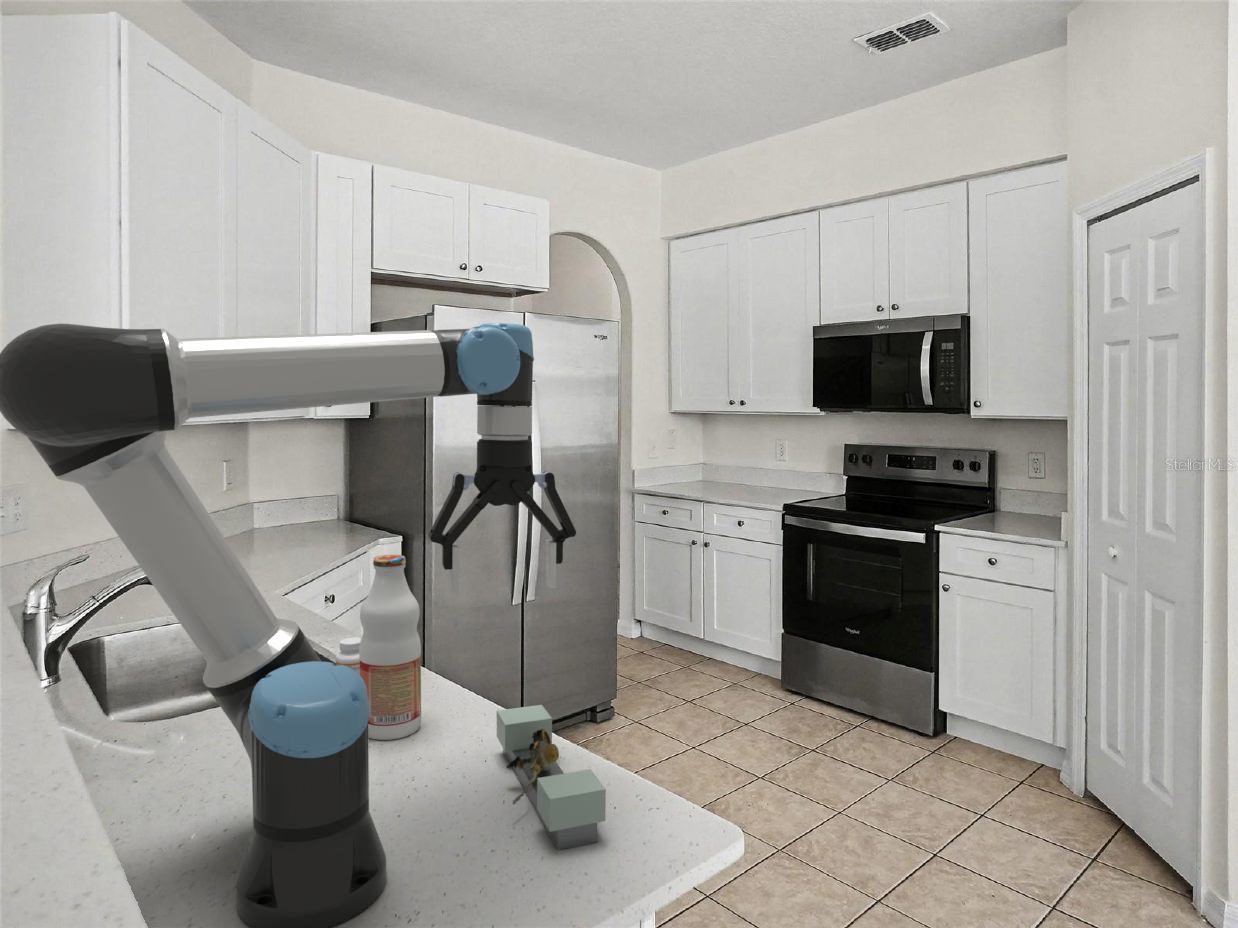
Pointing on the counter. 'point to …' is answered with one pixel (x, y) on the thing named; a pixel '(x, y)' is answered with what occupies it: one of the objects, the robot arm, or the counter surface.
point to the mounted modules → (557, 795)
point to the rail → (559, 837)
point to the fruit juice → (391, 652)
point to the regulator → (537, 757)
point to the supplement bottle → (349, 654)
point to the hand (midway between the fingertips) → (503, 589)
